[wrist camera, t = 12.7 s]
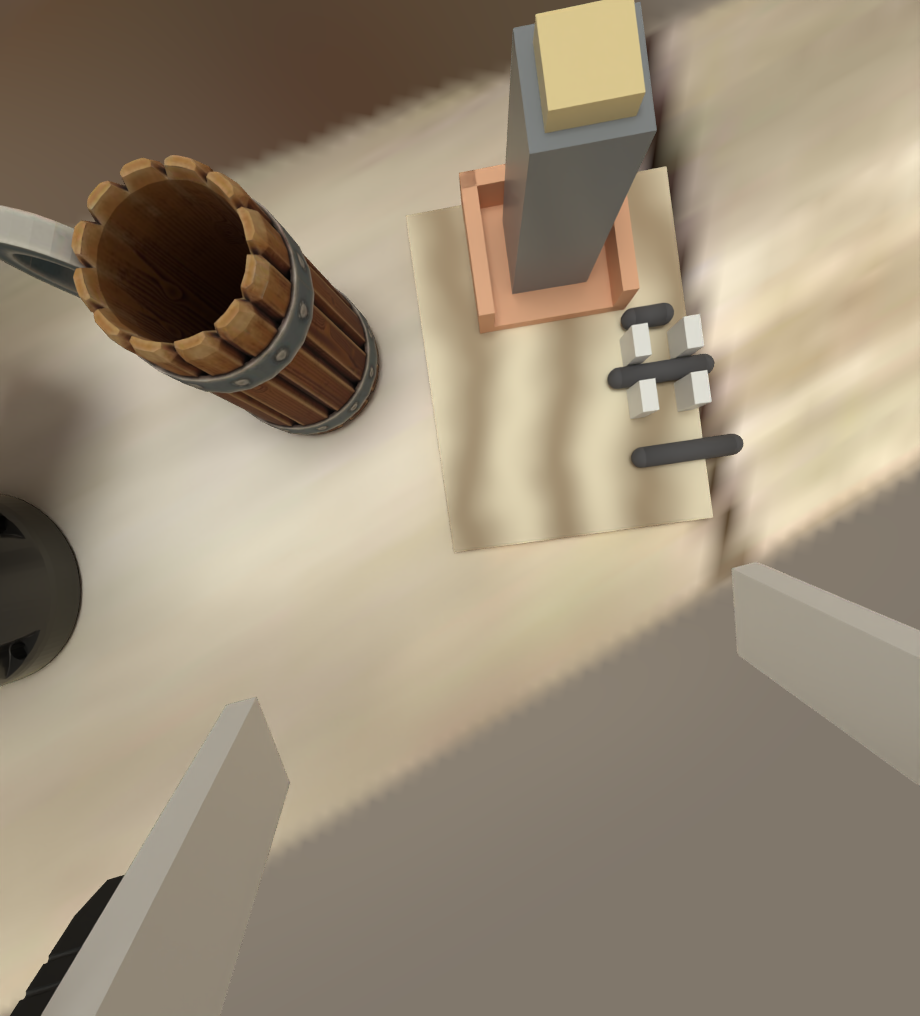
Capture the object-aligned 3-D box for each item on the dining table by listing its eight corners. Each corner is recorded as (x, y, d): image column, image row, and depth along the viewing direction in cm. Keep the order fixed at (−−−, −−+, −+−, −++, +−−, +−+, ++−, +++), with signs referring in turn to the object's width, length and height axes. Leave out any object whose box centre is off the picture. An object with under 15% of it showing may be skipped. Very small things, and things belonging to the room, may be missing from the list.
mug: (396, 310, 32) (315, 145, 17) (365, 450, 32) (260, 410, 17) (196, 270, 33) (-48, 78, 18) (169, 407, 33) (-92, 333, 18)
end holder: (479, 333, 30) (478, 315, 27) (461, 205, 30) (458, 172, 27) (624, 309, 30) (639, 288, 27) (606, 177, 29) (619, 141, 26)
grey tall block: (512, 294, 29) (532, 133, 16) (502, 220, 29) (514, -1, 16) (586, 281, 29) (667, 107, 16) (576, 207, 29) (650, -30, 16)
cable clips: (630, 419, 30) (643, 412, 27) (619, 339, 30) (631, 325, 27) (692, 409, 30) (711, 401, 27) (681, 329, 29) (699, 313, 27)
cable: (617, 471, 30) (623, 470, 29) (596, 318, 30) (601, 309, 28) (736, 454, 29) (749, 452, 28) (716, 298, 29) (727, 288, 28)
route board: (455, 550, 32) (453, 552, 31) (408, 226, 32) (405, 215, 30) (704, 516, 31) (713, 517, 30) (659, 179, 30) (666, 166, 29)
